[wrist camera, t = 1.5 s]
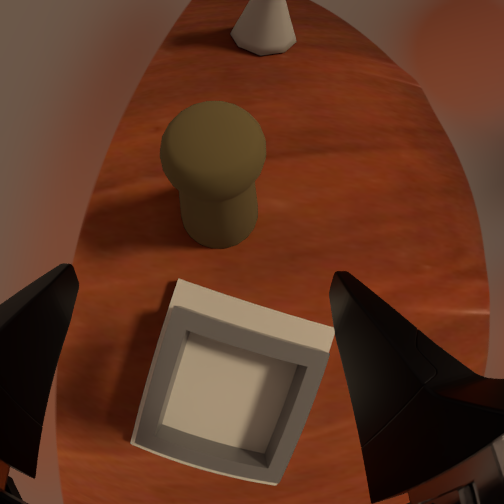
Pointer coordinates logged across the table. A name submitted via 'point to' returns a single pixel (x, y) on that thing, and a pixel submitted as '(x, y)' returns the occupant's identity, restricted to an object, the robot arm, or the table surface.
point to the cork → (215, 170)
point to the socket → (230, 385)
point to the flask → (264, 27)
